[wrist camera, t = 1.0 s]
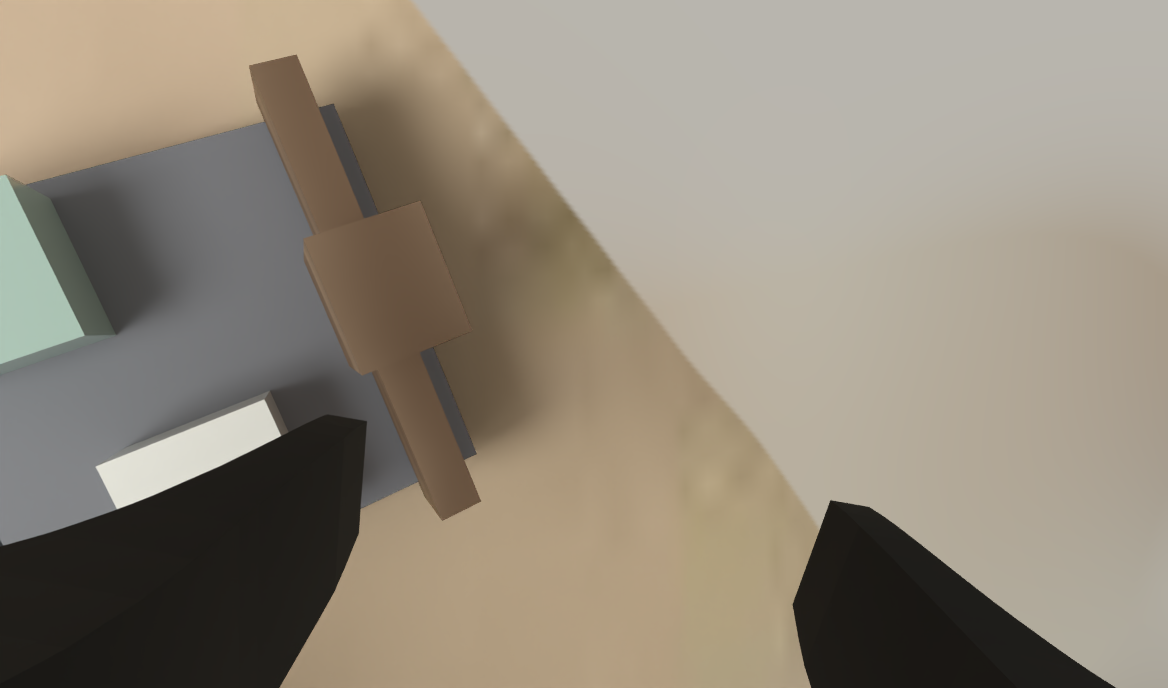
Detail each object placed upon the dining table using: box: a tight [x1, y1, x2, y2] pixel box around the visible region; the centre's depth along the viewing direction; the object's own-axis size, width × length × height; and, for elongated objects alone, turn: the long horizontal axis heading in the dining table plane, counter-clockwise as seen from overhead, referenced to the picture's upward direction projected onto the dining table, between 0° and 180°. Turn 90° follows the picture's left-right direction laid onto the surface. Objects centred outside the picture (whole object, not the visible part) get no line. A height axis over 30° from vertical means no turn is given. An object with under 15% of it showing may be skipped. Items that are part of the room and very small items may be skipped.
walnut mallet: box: [249, 55, 481, 521], centre depth 18 cm, size 2×13×8 cm, turn 21°
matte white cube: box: [96, 391, 288, 509], centre depth 19 cm, size 4×4×3 cm
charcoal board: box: [0, 104, 477, 546], centre depth 21 cm, size 12×12×2 cm
